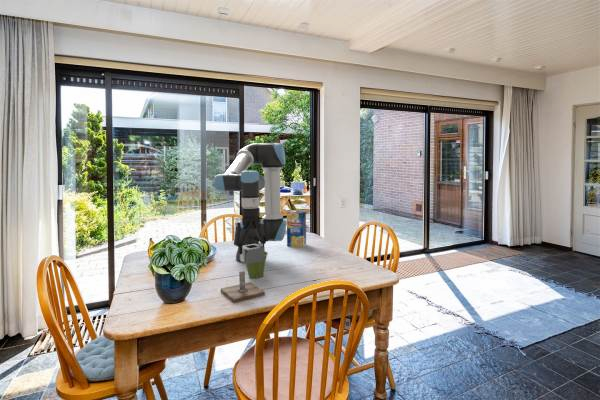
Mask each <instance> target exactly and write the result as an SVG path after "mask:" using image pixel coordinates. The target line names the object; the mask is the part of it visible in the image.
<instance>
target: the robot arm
mask: <svg viewBox="0 0 600 400" xmlns="http://www.w3.org/2000/svg"><path fill="white" fill-rule="evenodd" d="M286 163H287V162H286V152H285V148H284V145H283V143H280V142H253V143H251V144H248V145H246V146H244V147H243V148H241V149H240V150H239V151H238V152H237V154H236V156H235V159H234V161H233V162H232V163H231V165H230V166H229V167H228V169H227V170H226V171H225V172H224V173H220V174H216V175H215V177H214V181H213V182H214V188H215V190H217V192H219V191H220V192H240V194H241V207H242V208H241V219H239V221H236V222H234V225H235V229H234V230H235V231H234V237H233V238H234V239H233V245H234V246H236V247H237V250H236V253H235V260H236V261H237V262H242V263H245V247H244V246H243V245H250V244H258V245H260V246H263V247H265V245H266V242H281V241H283V240H284V238H285V235H286V232H287V220H285V219H284V216H283V215H282V214H281V170H282V169H283V168H284V167H283V165H286ZM253 165H260V166H261V169H262V170H263V172H264V173H263V174H264V175H262V174H260V171H258V170H248V168H249V167H251V166H253ZM263 189H264V215H262V218H260V216H261V214H260V213H261V210H260V209H261V208H260V191H261V190H263ZM239 254H240V260H239Z"/></svg>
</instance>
